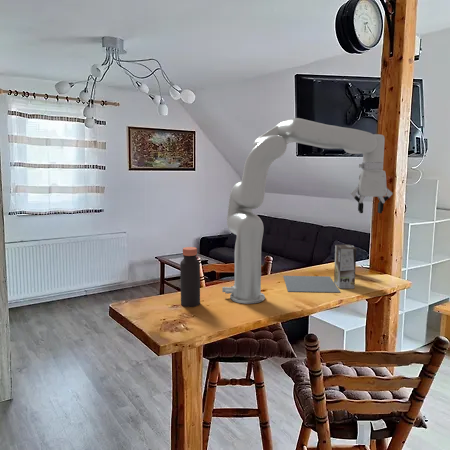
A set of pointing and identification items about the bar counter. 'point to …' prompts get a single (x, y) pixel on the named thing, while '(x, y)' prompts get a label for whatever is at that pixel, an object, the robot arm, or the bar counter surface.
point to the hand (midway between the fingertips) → (370, 212)
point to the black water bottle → (190, 278)
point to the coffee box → (345, 266)
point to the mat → (310, 284)
